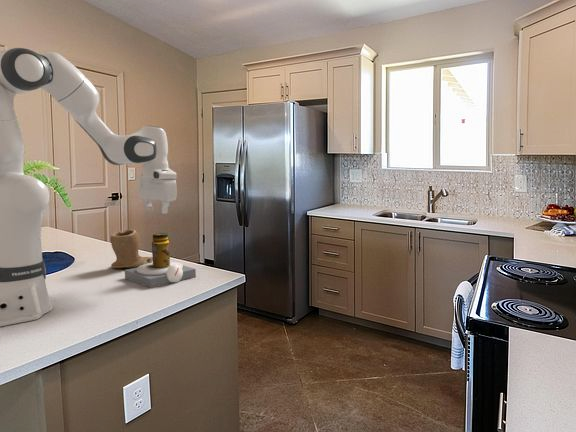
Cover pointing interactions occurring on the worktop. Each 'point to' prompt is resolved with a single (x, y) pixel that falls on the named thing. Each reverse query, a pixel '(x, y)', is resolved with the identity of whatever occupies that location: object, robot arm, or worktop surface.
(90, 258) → the worktop surface
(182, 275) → the scale
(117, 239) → the stone cup
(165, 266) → the condiment
